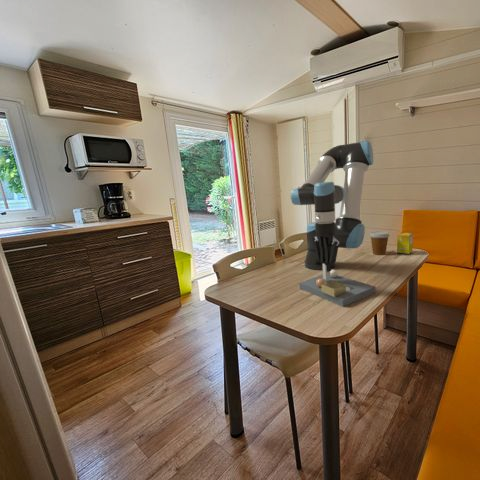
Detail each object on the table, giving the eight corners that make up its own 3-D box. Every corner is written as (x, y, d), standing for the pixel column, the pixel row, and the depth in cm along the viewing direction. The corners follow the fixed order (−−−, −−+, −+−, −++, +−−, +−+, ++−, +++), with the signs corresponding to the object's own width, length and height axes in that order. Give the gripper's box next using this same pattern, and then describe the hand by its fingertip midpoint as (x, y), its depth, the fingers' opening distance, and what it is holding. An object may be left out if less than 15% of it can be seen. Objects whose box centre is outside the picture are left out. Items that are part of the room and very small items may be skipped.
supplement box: (400, 251, 149) (400, 232, 146) (412, 252, 144) (413, 233, 142) (396, 253, 145) (397, 234, 143) (409, 255, 140) (409, 235, 138)
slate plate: (299, 288, 110) (299, 282, 110) (329, 277, 119) (329, 272, 118) (342, 306, 91) (342, 299, 91) (375, 292, 100) (375, 286, 99)
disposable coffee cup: (381, 256, 141) (381, 235, 139) (366, 253, 150) (366, 233, 147) (392, 253, 146) (393, 232, 143) (376, 250, 154) (377, 230, 152)
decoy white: (327, 277, 113) (327, 269, 112) (332, 275, 114) (332, 267, 114) (333, 279, 110) (333, 271, 109) (339, 277, 111) (339, 269, 111)
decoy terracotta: (314, 286, 104) (314, 278, 103) (320, 284, 106) (320, 276, 105) (320, 289, 101) (320, 281, 100) (327, 287, 103) (326, 278, 102)
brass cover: (321, 291, 98) (321, 284, 98) (332, 287, 101) (332, 280, 100) (334, 296, 93) (334, 289, 92) (345, 292, 96) (345, 284, 95)
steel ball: (338, 291, 101) (342, 285, 99) (343, 288, 102) (348, 283, 100) (344, 298, 99) (348, 292, 97) (349, 295, 101) (354, 290, 98)
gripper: (306, 222, 107) (308, 276, 112) (331, 224, 96) (333, 285, 101) (319, 219, 111) (321, 272, 116) (345, 221, 100) (346, 280, 105)
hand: (326, 278), depth 108 cm, fingers closed
